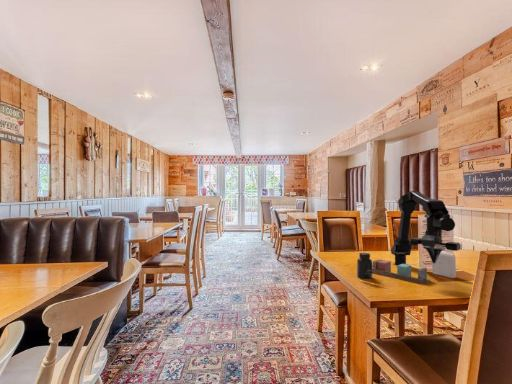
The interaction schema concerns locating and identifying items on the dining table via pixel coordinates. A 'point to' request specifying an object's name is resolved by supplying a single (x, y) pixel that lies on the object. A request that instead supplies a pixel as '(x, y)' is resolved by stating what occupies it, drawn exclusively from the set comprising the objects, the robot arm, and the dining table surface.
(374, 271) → the shelf board
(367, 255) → the supplement bottle
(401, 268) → the teal block
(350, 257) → the dining table surface
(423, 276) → the bookend
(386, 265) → the pink block
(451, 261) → the photo printer
